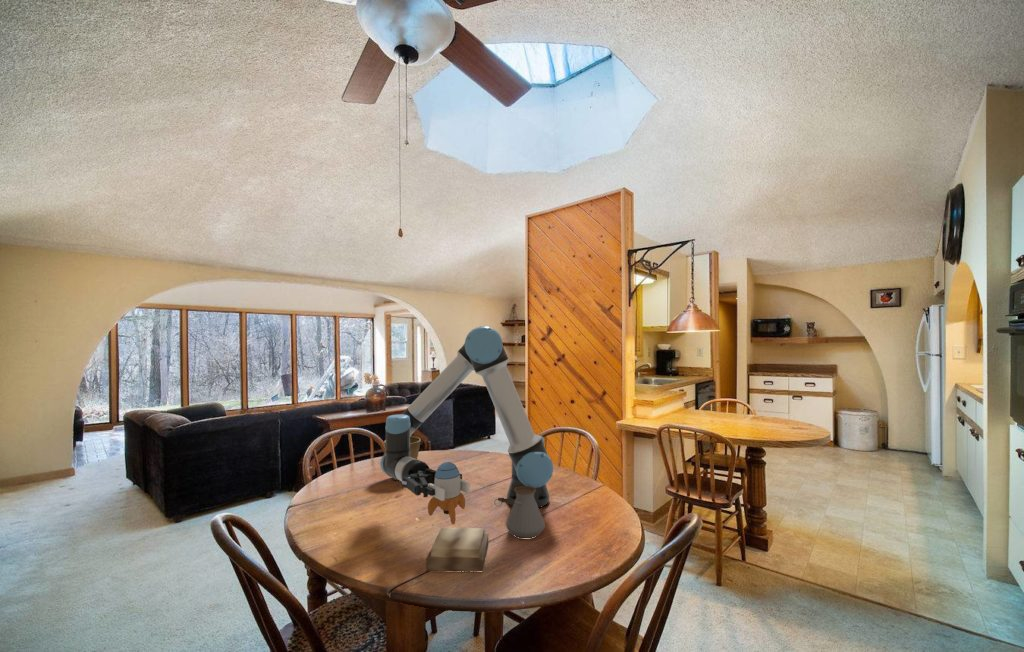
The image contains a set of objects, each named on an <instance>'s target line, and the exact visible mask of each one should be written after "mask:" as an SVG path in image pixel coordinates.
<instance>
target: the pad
mask: <svg viewBox="0 0 1024 652" xmlns="http://www.w3.org/2000/svg"><path fill="white" fill-rule="evenodd" d="M488 549H489V533H485V528H484V527H483V528H482V527H441V528H440V530H439V532H438V533H437V536H436V538H435V540H434V542H433V544H432V546H431V548H430V550H429V552H428V554H427V556H426V558H425V571H461V572H460V573H471V572H470V571H473V572H472V573H475V572H474V571H483V572H484V569H485V564H484V563H486V559H485V558H487V554H488ZM483 568H484V569H483ZM462 571H464V572H462ZM465 571H467V572H465Z"/></svg>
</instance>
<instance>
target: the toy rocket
mask: <svg viewBox="0 0 1024 652" xmlns="http://www.w3.org/2000/svg"><path fill="white" fill-rule="evenodd" d="M435 471H436V474H435V480H434V481H435V484H434V485H436V486H438V487H440V488H443V489H445V500H444V501H441V500H439V499H437V498H435V497H433V496H432V497H431V498H430V500H429V501H428V504H427V512H428V515H429V516H432V515H433V514H434V512H435V510H436V509H437V508H440V509H441V510H442V511H443V514H444V515H449V518H450V523H451V525H453V526H454V525H455V524H456V521H457V520H456V518H457V516H456V509H457V507H458V506H459V507H460V509H462V510H464V509H465V507H466V499H465V496H464V494H463V492H462V491H461V479H460V474H461V473H460V470H459V469H458V467H457V465H456V464H455V463H454V462H452V461H446V462H445V461H444V462H443V463H441V464H440V465H438V466H437V468H436V470H435Z"/></svg>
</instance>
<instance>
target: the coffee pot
mask: <svg viewBox="0 0 1024 652" xmlns="http://www.w3.org/2000/svg"><path fill="white" fill-rule="evenodd" d="M514 491H515V492H516V495H517V497H516V500H515V501H514V500H511V499H508V498H507V497H505V498H504V497H498V498H496V499H495V500H494V501H493V503H494V505H495V507H500V506H501V505H502V504H503V503H505V504H508V503H511V504H514V505H513V506H511V510H510V512H509V515H508V517H507V520H506V522H505V523H506V524H505V525H506V529H507V530H508V531H509V533H510V534H511V535H512V536H513V535H515V536H516V537H519V538H532V537H535V536H537V535H538V536H539V535H540V534H541V533H542V532H543V531H544V529H545V527H546V523H545V522H546V521H545V520H544V517H543V515H542V513H541V511H540V508H538V505H537V503H536V501H535V498H534V493H535V492H536V489H535V488H534V487H531V486H519V487H515V489H514ZM496 501H499V502H500V505H499V504H498V505H497V504H496ZM538 536H537V537H538ZM516 537H515V538H516Z"/></svg>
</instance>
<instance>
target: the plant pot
mask: <svg viewBox="0 0 1024 652" xmlns="http://www.w3.org/2000/svg"><path fill="white" fill-rule="evenodd" d="M383 443H384V451H385V452H386V439H385V440H384V442H383ZM420 446H421V438H420V437H417V436H411V437H410V457H412V458H415V459H417V460H418V456H419V452H420ZM392 480H394V481H396V480H397V479H395V478H393V477H392Z"/></svg>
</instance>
